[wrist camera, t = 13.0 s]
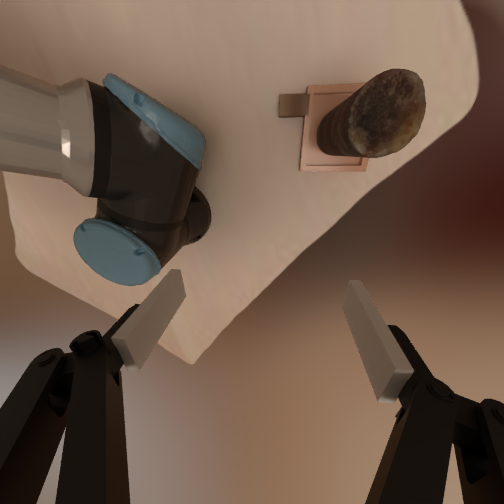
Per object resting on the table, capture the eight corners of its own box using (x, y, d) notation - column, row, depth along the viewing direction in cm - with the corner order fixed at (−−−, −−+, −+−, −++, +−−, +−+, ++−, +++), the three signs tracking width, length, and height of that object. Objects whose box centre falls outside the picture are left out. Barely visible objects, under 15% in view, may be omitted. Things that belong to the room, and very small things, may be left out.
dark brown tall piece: (320, 105, 34) (361, 63, 17) (364, 107, 34) (454, 66, 16) (311, 154, 38) (338, 161, 21) (351, 156, 38) (413, 166, 20)
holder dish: (299, 170, 40) (299, 171, 39) (306, 88, 34) (308, 85, 32) (361, 170, 39) (365, 171, 37) (381, 85, 33) (386, 82, 31)
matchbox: (279, 117, 37) (279, 116, 35) (280, 97, 35) (280, 94, 33) (306, 116, 36) (308, 115, 34) (309, 95, 35) (310, 93, 33)
